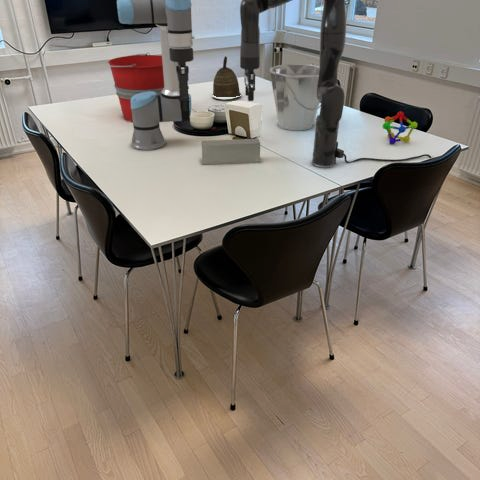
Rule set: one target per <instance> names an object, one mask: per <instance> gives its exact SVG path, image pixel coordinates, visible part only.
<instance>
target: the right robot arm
mask: <svg viewBox="0 0 480 480" xmlns="http://www.w3.org/2000/svg"><path fill="white" fill-rule="evenodd" d="M292 1H293V0H241V2H240V6H239V15H240V17H239V19H240V26H241V28H240V29H241V32H240V49H239V50H240V51H239V52H240V53H239V56H240V57H239V58H240V59H239V62H240V63H239V67H240V69H241V70H244V73H243V76H244V77H243V79H244V81H243V83H244V86H245V87H244V88H245V91H244V92H245V93H244V94H245V96H246V97H247V101H248V102H253V101H254V100H255V91H256V73H255V70H258V69H260V66H261V64H260V63H261V44H260V43H261V42H260V41H261V38H260V37H261V31H260V30H261V29H260V26H259V25H260V14H262V13H264V12H266V11H268V10H271V9H274V8H277V7H280V6H282V5H285V4H287V3H289V2H292ZM346 12H347V11H346V0H323V8H322V14H321V21H320V31H319V67H320V69H319V78H318V85H317V93H316V95H317V99H318V101H319V102H320V105H321V107H320V108H319V114H318V115H316V117H315V129H314V139H313V141H314V142H313V148H312V160H311V165H312V166H314V167H316V168H322V169H328V168H332V167H334V166H335V165H336V163H337V159H342V158H344V162H345V163H346V164H352V163H356V162H358V161H374V162H375V161H376V162H406V161H411V160H414V159H420V158H423V157H428V158H430V159H432V156H431V155H430V154H427V153H426V154H425V153H423V154H420V155H417V156H411V157H408V158H401V159H390V158H389V159H386V158H375V157H373V158H372V157H359V158H356V159H355V160H352V161H348V160H347V154H345V150H343V149H341V148H339V142H338V133H339V126H340V122H341V120H342V117H343V111H344V105H345V98H346V97H345V95H346V94H345V90H344V89H343V88H342V86H340V85H339V84H338V72H339V71H338V69H339V65H340V62H341V58H342V57H343V53H344V50H345V47H346V35H347V13H346Z"/></svg>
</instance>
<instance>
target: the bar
mask: <svg viewBox="0 0 480 480" xmlns="http://www.w3.org/2000/svg"><path fill="white" fill-rule="evenodd" d="M260 141H261V140H260V139H259V138H239V139H210V140H209V139H206V140H201V161H202V162H201V163H202V165H225V164H226V165H228V164H255V163H261V142H260Z"/></svg>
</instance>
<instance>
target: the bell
mask: <svg viewBox="0 0 480 480" xmlns="http://www.w3.org/2000/svg"><path fill="white" fill-rule="evenodd" d="M227 63H228V57H227V56H224V58H223V63H222V67H221V68H219V69H218V70H217V71H216V73H215V75H214V78H213V81H212V83H213V84H212V95H214V96H216V97H236V96H240V95H241V96H242V93H241V92H240V83H239V80H238V79H239V78H238V77H237V75H236V73H235V72H234V70H232V69H231V68H230V67H227Z"/></svg>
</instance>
